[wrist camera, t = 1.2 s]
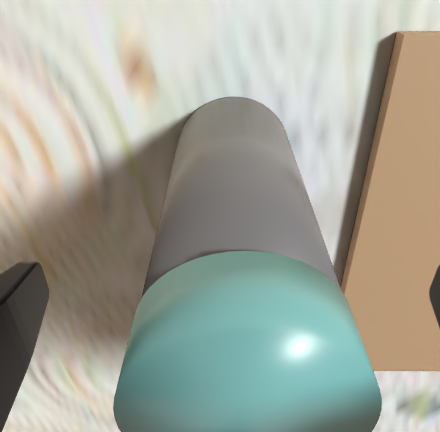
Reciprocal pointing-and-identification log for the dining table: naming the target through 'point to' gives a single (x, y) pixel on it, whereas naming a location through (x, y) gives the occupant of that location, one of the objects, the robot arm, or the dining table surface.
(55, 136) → the dining table surface
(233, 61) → the dining table surface
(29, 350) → the robot arm
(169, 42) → the dining table surface
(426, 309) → the kraft pad
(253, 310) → the marker
